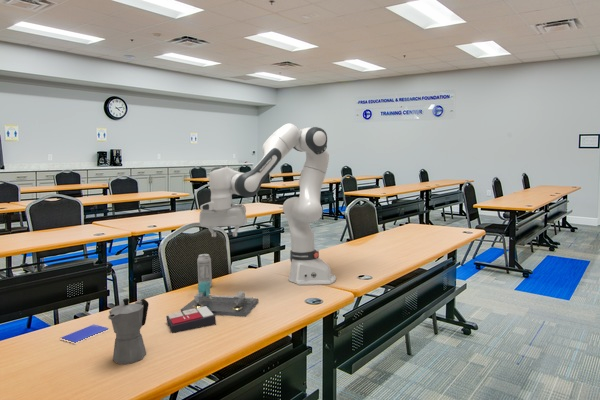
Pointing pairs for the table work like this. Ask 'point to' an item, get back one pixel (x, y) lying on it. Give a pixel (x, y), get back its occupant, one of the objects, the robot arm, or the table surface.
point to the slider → (202, 290)
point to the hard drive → (84, 333)
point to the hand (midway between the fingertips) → (224, 236)
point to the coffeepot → (129, 331)
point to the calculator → (190, 319)
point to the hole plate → (225, 304)
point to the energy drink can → (204, 268)
